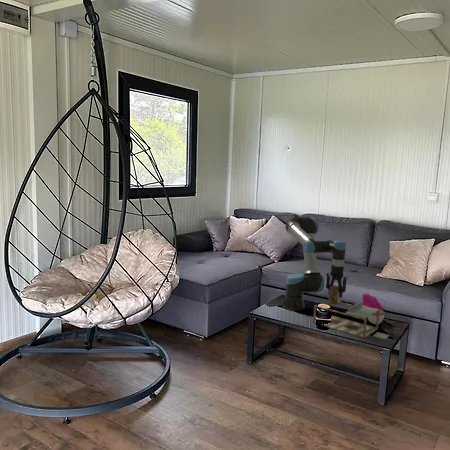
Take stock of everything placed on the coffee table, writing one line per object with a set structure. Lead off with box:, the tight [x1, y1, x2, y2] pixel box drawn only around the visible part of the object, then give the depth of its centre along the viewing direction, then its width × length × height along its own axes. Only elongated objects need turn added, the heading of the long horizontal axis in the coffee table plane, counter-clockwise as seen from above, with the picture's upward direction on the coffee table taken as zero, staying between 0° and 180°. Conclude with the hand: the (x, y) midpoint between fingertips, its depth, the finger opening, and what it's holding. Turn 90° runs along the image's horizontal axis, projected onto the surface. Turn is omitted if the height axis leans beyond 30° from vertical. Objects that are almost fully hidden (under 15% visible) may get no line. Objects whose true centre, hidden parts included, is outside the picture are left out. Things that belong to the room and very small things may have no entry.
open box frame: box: [312, 299, 379, 339], centre depth 280 cm, size 34×20×11 cm, turn 49°
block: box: [328, 284, 341, 306], centre depth 283 cm, size 5×5×10 cm
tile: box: [373, 331, 390, 340], centre depth 266 cm, size 7×7×1 cm
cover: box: [345, 301, 378, 319], centre depth 272 cm, size 12×20×3 cm, turn 139°
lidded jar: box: [366, 308, 385, 325], centre depth 288 cm, size 11×11×9 cm
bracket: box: [361, 292, 384, 310], centre depth 316 cm, size 12×10×10 cm
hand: (334, 300), depth 284 cm, fingers closed on block, 5 cm apart
